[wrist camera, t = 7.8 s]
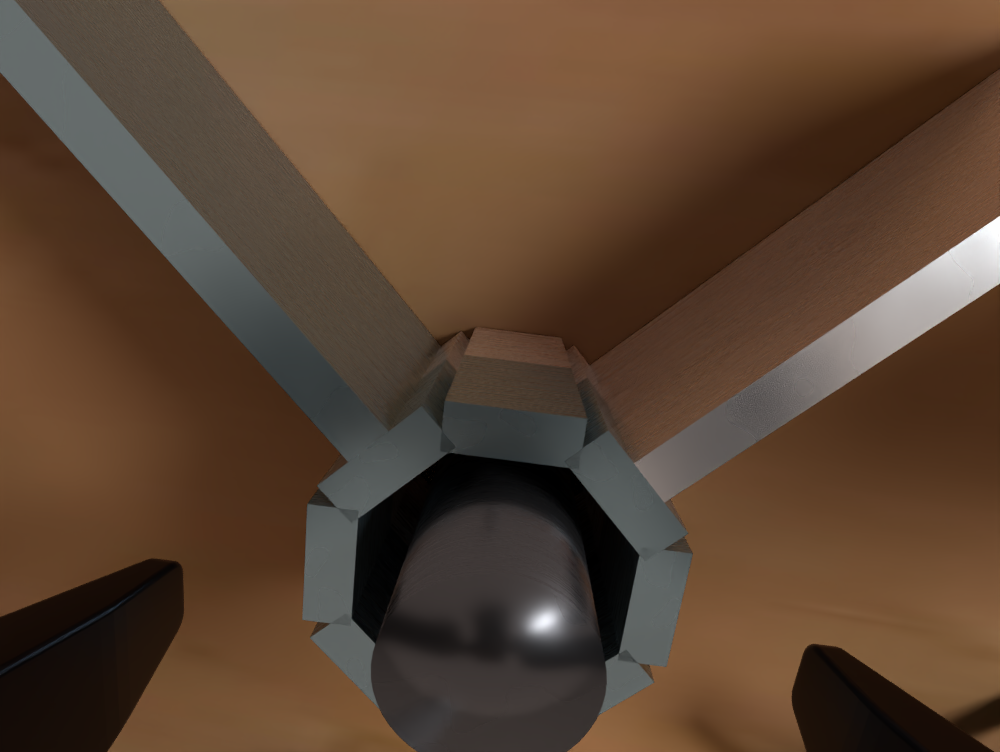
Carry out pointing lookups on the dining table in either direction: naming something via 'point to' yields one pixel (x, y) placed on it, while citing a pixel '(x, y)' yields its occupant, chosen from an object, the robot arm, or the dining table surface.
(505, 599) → the hinge pin
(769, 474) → the dining table surface
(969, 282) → the hinge fixture
